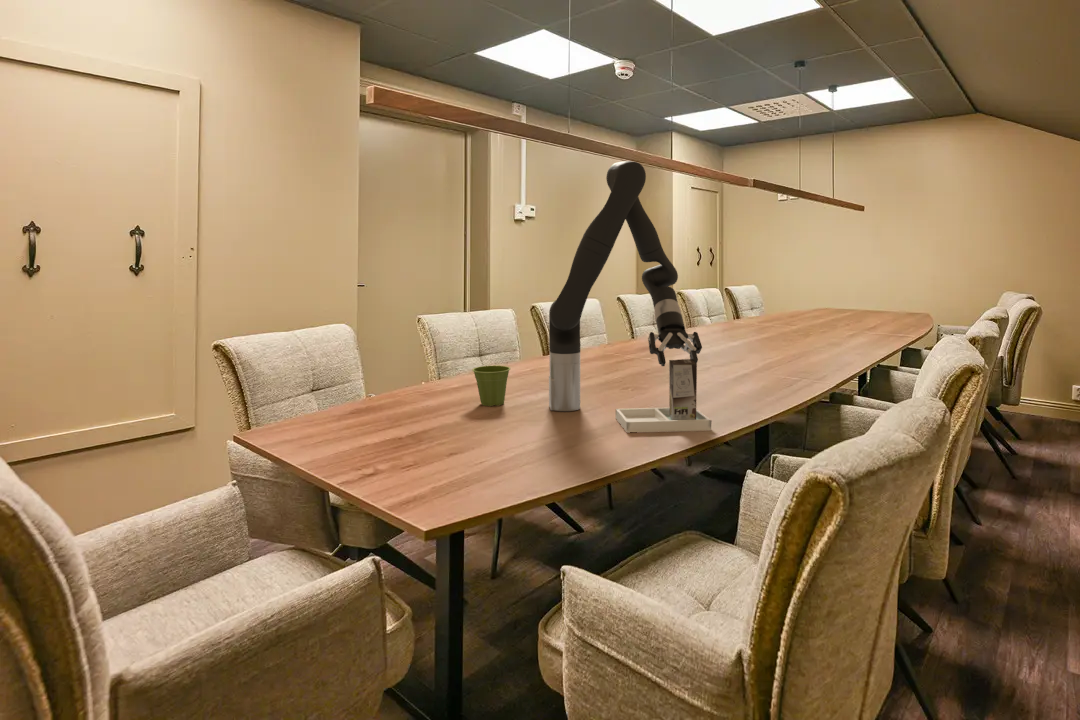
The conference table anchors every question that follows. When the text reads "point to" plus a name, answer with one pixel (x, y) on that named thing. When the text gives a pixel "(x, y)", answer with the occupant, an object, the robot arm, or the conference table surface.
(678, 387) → the coffee box
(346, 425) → the conference table surface
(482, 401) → the plant pot
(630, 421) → the tray
